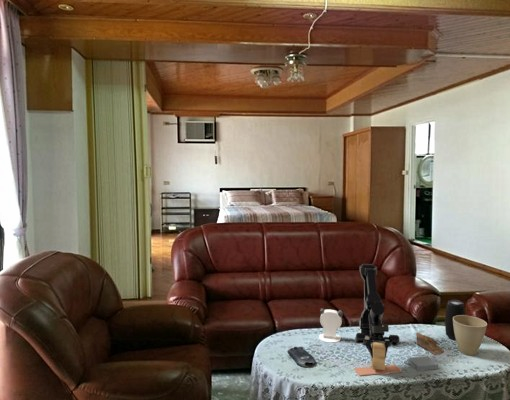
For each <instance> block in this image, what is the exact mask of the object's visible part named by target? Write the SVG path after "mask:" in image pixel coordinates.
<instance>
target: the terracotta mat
mask: <svg viewBox="0 0 510 400" xmlns="http://www.w3.org/2000/svg"><path fill="white" fill-rule="evenodd" d="M353 370H354V372H355V373H356V374H357V375H358V376H359V377H365V376H366V377H367V376H375V375H386V374H395V373H403V370H402V369H400V368H399V367H398V366H397V364H385V370H381V369H373V367H372V366H362V367H353Z"/></svg>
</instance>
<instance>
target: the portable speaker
mask: <svg viewBox="0 0 510 400" xmlns="http://www.w3.org/2000/svg"><path fill="white" fill-rule="evenodd" d="M458 315H466V309H465V303H464V302H462V301H461V300H458V299H451V300H447V304H446V308H445V319H444V329H445V335H446V337H447V338H448V339H449V340H452V341H456V338H455V333H454V327H453V317H454V316H458Z"/></svg>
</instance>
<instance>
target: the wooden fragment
mask: <svg viewBox="0 0 510 400" xmlns="http://www.w3.org/2000/svg"><path fill="white" fill-rule="evenodd" d="M415 335H416V345H418V346H419V347H421V348H423V349H424V350H426V351H428V352H430V353H431V354H434V355H435V356H436V355H440V354H442V353H445V351H444V350H443V349H442V348H441V347H440V346H439V345H438V341H436V340H435V339H433V338H432V337H430V336H428V335H425V334H422V333H420V332H416V333H415Z"/></svg>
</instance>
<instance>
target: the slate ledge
mask: <svg viewBox="0 0 510 400" xmlns="http://www.w3.org/2000/svg"><path fill="white" fill-rule="evenodd" d="M407 358H408V359H407V362H408V364H409V365H411V366H412V367H413V368H414V369H415V370H416V371H418V372H419V371H430V370H438V369H439V363H438V362H436V361H435V360H434V359H432V358H431V357H430V356H417V357H407Z"/></svg>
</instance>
